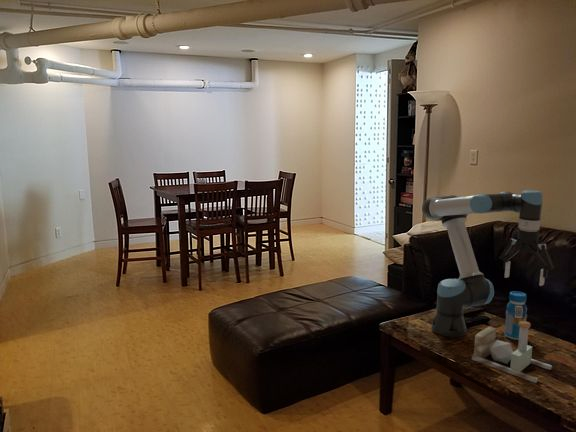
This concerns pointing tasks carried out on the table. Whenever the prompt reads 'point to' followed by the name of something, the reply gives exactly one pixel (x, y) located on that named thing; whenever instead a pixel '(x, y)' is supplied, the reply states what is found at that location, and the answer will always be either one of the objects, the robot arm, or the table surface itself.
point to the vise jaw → (522, 349)
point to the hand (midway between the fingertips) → (523, 281)
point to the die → (501, 351)
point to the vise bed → (482, 350)
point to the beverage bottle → (515, 314)
